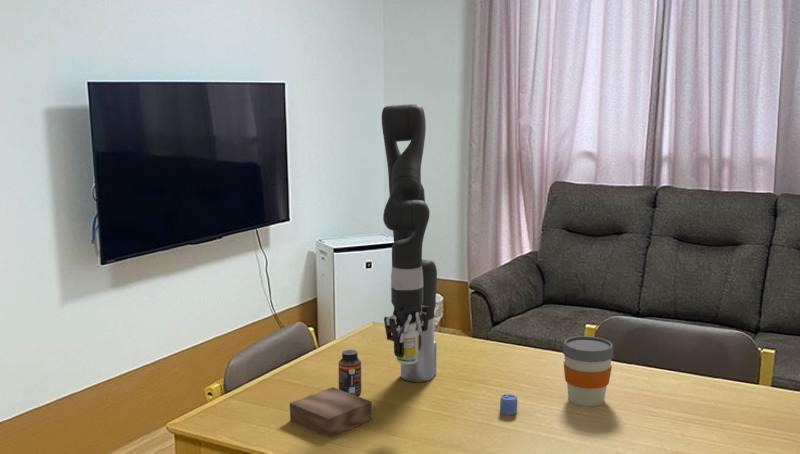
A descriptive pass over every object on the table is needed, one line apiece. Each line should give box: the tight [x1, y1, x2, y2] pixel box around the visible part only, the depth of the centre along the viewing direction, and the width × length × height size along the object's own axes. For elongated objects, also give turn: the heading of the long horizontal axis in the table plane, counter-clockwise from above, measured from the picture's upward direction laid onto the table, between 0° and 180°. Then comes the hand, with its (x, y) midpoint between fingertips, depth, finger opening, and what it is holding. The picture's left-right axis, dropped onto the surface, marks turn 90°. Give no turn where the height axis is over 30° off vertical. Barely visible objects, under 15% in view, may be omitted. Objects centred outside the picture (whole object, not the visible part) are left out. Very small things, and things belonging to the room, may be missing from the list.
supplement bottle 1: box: [338, 349, 362, 396], centre depth 217 cm, size 6×6×11 cm
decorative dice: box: [499, 393, 518, 416], centre depth 206 cm, size 4×4×4 cm
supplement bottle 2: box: [396, 322, 419, 365], centre depth 197 cm, size 5×5×10 cm
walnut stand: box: [289, 386, 373, 438], centre depth 201 cm, size 14×14×4 cm
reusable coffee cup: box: [562, 335, 614, 407], centre depth 212 cm, size 13×13×15 cm
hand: (407, 352), depth 198 cm, fingers closed on supplement bottle 2, 5 cm apart
